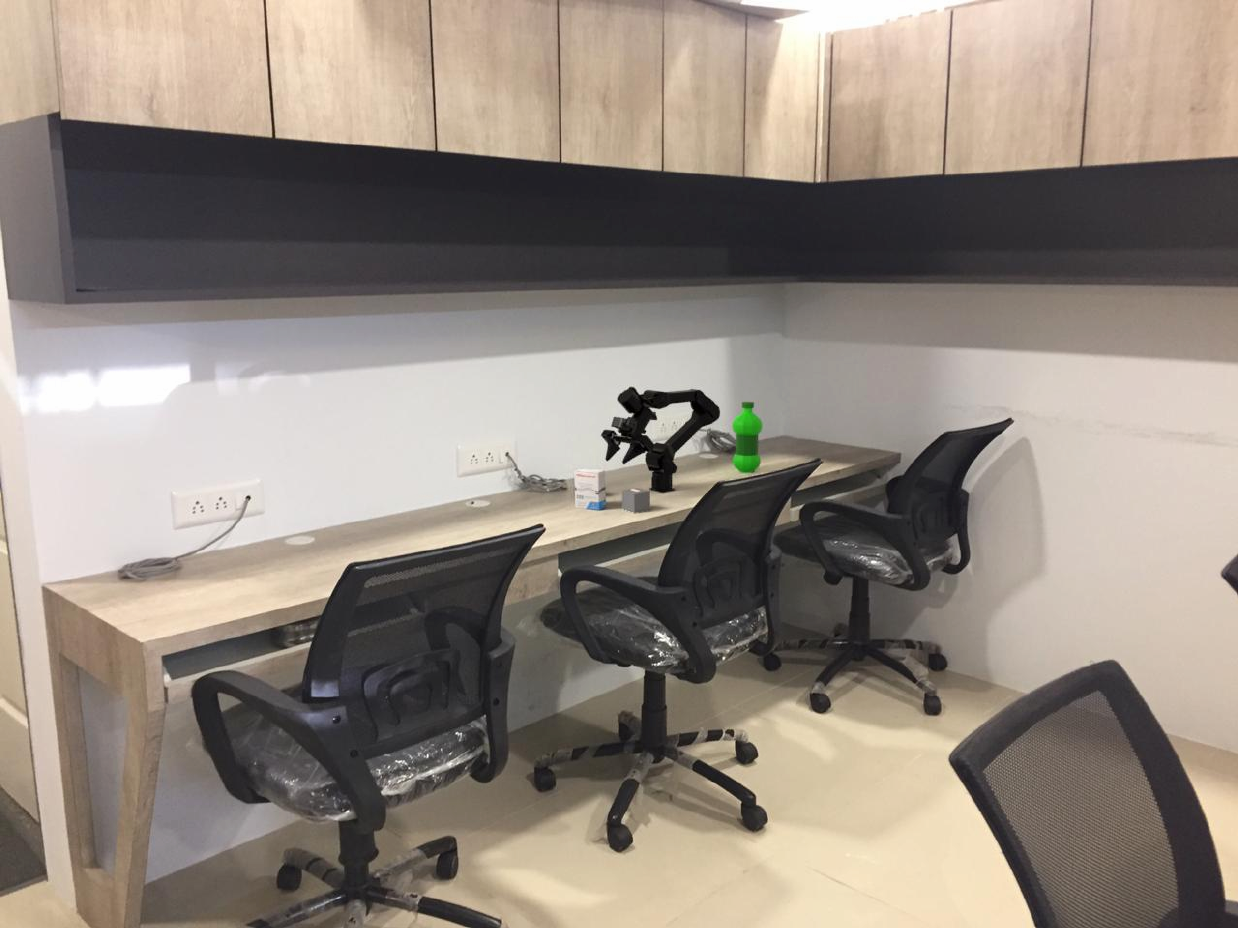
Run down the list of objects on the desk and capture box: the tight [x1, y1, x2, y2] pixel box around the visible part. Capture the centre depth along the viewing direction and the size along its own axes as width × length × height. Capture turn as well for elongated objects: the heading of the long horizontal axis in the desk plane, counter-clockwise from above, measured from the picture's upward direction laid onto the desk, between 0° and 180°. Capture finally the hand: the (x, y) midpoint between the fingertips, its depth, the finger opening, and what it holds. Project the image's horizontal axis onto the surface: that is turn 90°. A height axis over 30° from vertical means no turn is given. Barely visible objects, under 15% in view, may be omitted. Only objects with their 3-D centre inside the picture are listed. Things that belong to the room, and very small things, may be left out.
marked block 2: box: [621, 487, 651, 514], centre depth 298 cm, size 6×6×6 cm
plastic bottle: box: [732, 401, 763, 474], centre depth 354 cm, size 10×10×25 cm
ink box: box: [573, 468, 607, 511], centre depth 301 cm, size 9×5×12 cm, turn 62°
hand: (614, 461), depth 309 cm, fingers open, 7 cm apart
